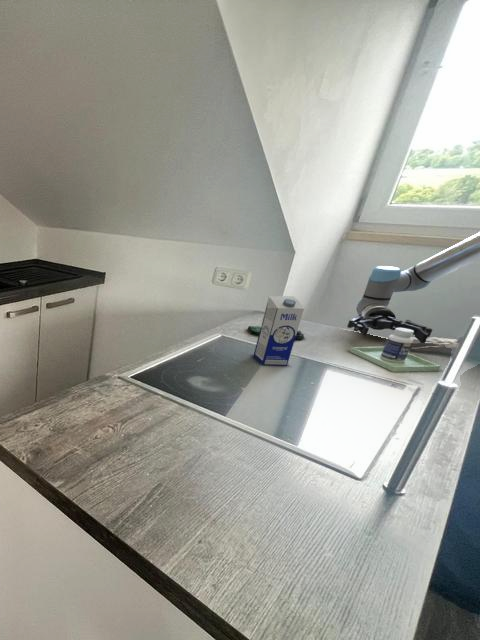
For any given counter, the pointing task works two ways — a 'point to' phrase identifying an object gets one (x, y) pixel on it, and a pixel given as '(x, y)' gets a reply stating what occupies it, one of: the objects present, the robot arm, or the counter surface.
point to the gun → (256, 330)
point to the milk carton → (278, 330)
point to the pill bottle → (398, 345)
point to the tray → (408, 365)
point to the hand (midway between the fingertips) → (394, 335)
